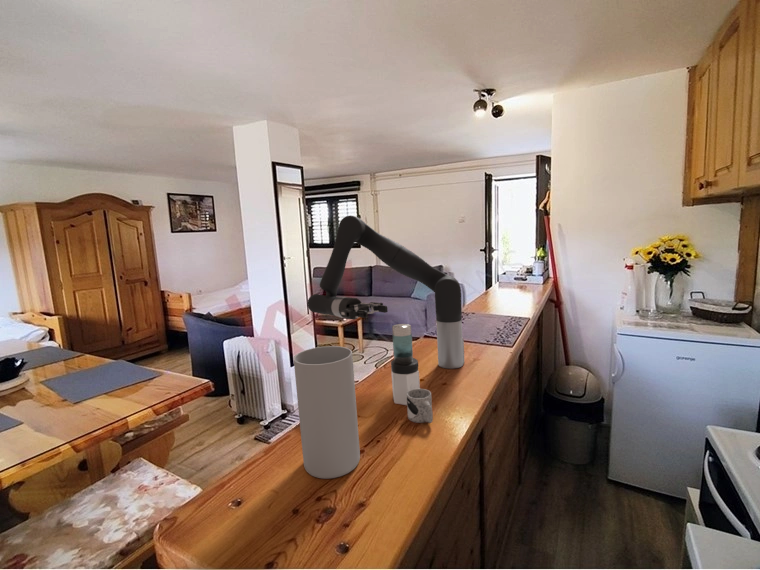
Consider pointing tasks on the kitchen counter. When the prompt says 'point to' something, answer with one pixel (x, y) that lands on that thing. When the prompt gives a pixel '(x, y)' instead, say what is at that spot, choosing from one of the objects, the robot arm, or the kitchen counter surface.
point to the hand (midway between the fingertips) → (376, 311)
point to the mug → (419, 406)
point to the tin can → (402, 344)
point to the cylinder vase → (327, 411)
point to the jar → (404, 380)
